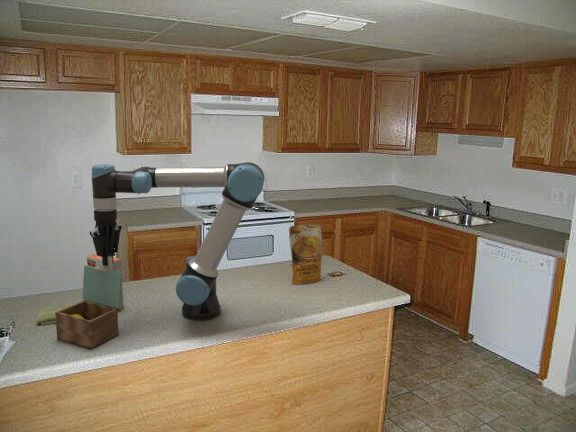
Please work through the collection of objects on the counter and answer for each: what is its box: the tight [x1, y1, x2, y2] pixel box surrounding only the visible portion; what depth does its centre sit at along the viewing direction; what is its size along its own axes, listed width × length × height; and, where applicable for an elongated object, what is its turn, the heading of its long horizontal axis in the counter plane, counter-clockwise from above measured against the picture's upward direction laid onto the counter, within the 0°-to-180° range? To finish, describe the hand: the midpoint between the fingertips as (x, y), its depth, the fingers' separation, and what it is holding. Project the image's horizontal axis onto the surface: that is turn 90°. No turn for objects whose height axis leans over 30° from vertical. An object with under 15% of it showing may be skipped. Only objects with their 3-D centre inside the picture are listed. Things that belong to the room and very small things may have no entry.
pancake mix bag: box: [288, 222, 323, 286], centre depth 222 cm, size 7×19×28 cm, turn 118°
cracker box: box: [86, 253, 124, 310], centre depth 187 cm, size 14×6×21 cm, turn 58°
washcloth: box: [35, 303, 75, 327], centre depth 179 cm, size 13×18×3 cm
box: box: [55, 300, 122, 351], centre depth 162 cm, size 17×13×10 cm
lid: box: [82, 265, 123, 308], centre depth 165 cm, size 17×13×2 cm
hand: (108, 273), depth 168 cm, fingers closed
